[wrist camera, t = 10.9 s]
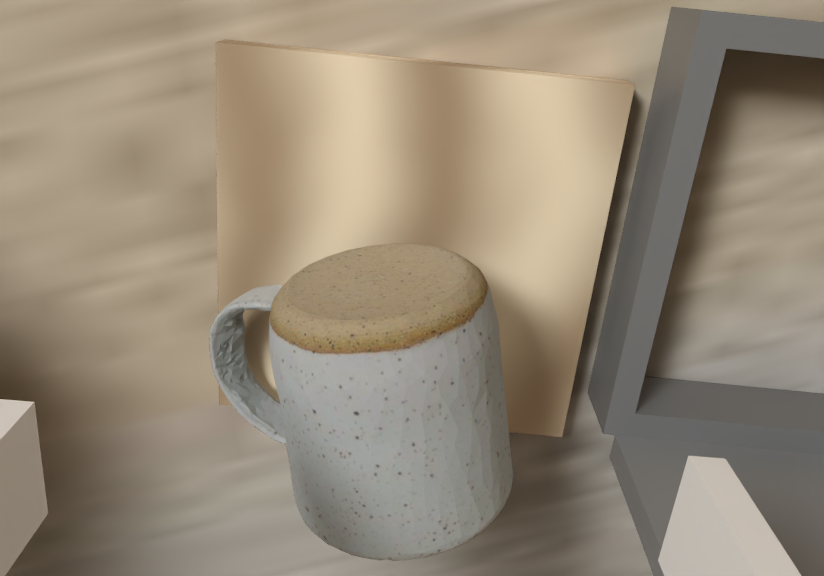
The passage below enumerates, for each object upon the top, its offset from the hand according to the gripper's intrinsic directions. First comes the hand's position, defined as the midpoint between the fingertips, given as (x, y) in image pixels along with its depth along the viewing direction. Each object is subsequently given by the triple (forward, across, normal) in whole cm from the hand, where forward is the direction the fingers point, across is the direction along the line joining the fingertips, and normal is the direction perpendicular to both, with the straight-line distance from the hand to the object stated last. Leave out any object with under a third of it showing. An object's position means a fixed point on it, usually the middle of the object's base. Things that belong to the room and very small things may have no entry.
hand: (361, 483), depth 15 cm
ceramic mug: (+13, 0, 0) cm, 13 cm away
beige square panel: (+14, +1, 0) cm, 14 cm away
